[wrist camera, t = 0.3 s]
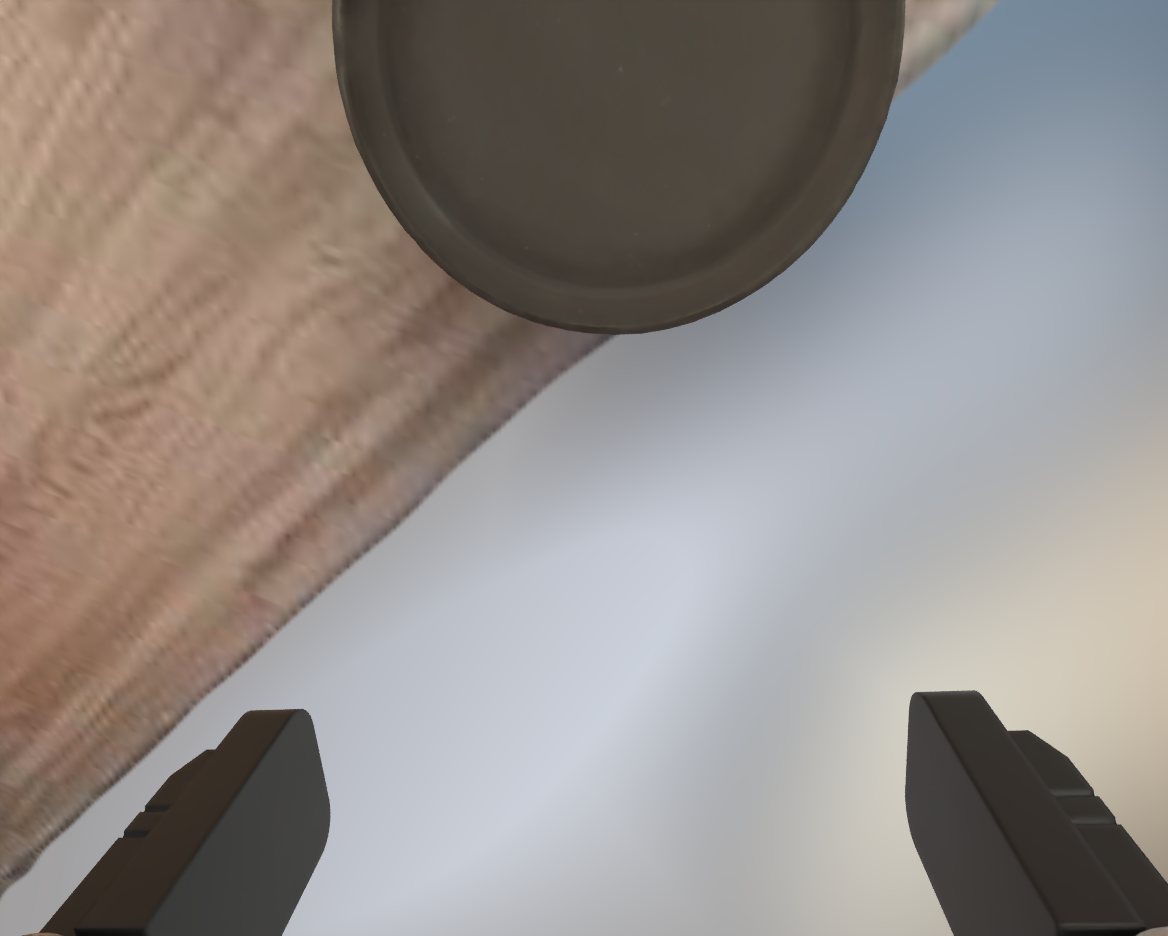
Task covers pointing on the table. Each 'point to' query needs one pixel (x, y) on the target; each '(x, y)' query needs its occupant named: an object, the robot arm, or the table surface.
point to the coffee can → (616, 142)
